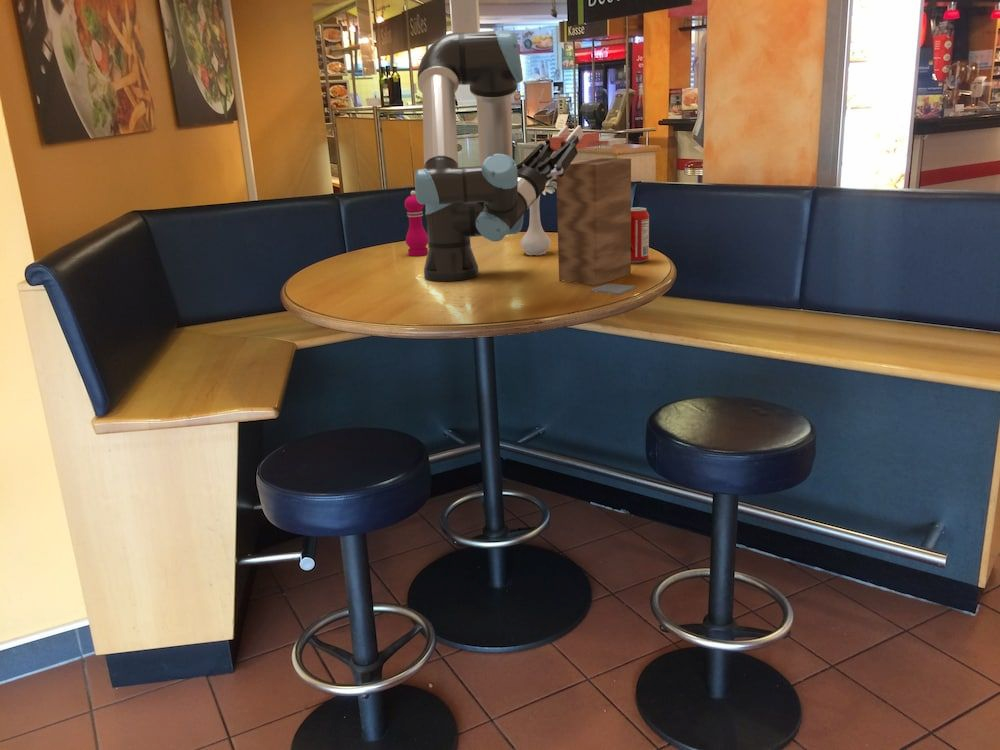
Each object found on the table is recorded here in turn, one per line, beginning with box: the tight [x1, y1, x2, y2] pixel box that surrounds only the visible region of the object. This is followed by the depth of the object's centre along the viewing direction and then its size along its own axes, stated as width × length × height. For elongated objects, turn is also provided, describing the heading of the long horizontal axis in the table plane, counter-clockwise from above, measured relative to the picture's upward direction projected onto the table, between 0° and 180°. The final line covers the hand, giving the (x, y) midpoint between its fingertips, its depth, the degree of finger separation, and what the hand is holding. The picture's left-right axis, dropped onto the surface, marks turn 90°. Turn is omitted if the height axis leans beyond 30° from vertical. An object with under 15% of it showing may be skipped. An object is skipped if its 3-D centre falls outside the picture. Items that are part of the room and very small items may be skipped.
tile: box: [590, 282, 636, 296], centre depth 206 cm, size 8×8×1 cm
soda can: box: [631, 206, 650, 264], centre depth 235 cm, size 8×8×15 cm
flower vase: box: [520, 176, 557, 256], centre depth 252 cm, size 13×18×25 cm
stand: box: [555, 157, 632, 286], centre depth 216 cm, size 12×16×30 cm
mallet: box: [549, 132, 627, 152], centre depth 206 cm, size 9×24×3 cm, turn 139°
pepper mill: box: [404, 190, 429, 257], centre depth 261 cm, size 7×7×20 cm
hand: (574, 130), depth 202 cm, fingers closed on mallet, 3 cm apart
